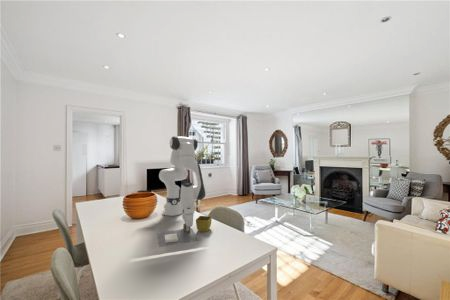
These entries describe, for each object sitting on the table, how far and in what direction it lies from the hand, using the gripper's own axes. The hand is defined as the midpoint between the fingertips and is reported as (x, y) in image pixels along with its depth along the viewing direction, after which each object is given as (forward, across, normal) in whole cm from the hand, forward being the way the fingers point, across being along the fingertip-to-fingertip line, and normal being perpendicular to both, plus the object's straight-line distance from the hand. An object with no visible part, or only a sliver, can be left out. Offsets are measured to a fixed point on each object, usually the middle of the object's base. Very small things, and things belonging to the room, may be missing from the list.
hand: (186, 228), depth 130 cm
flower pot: (+3, +2, +11) cm, 12 cm away
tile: (0, +6, -11) cm, 12 cm away
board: (+2, +7, -7) cm, 10 cm away
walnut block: (+1, 0, 0) cm, 1 cm away
